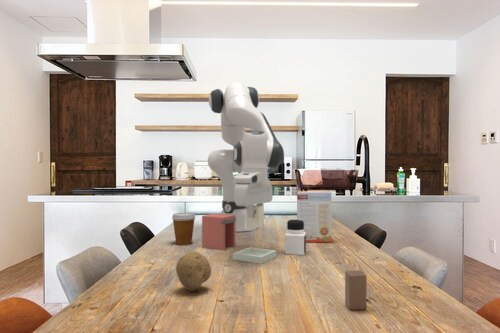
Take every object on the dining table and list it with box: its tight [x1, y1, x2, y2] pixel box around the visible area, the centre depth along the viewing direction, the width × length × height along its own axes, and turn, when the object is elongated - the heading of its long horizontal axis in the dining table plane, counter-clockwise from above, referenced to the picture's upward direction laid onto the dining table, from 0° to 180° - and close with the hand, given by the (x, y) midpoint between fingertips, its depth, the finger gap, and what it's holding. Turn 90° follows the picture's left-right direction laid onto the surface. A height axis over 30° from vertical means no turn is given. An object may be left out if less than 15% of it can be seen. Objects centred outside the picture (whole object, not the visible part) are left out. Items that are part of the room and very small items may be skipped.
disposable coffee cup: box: [171, 212, 196, 246], centre depth 167 cm, size 10×10×12 cm
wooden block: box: [344, 270, 367, 311], centre depth 94 cm, size 4×4×8 cm
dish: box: [232, 246, 277, 265], centre depth 141 cm, size 11×11×2 cm
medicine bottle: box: [284, 218, 307, 256], centre depth 150 cm, size 7×7×12 cm
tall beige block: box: [246, 204, 265, 228], centre depth 141 cm, size 4×5×7 cm
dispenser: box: [201, 213, 237, 251], centre depth 160 cm, size 9×10×12 cm
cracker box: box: [296, 190, 333, 243], centre depth 171 cm, size 14×6×21 cm, turn 84°
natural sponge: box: [175, 251, 212, 292], centre depth 107 cm, size 9×9×10 cm
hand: (254, 217), depth 141 cm, fingers closed on tall beige block, 3 cm apart
